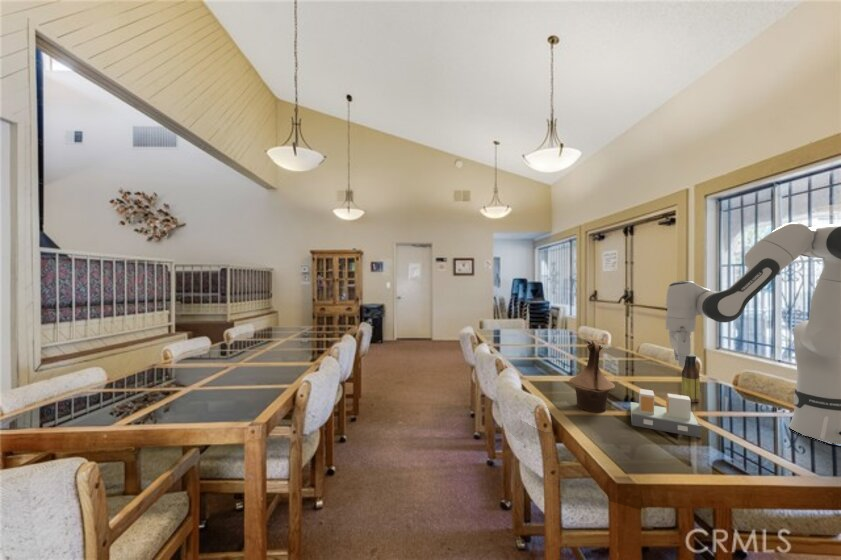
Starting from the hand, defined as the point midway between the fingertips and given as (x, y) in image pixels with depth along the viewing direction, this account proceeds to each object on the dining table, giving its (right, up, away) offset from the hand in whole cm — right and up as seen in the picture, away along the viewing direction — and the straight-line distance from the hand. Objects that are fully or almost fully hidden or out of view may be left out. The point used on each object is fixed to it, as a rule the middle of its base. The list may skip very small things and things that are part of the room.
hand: (679, 362), depth 131 cm
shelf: (-5, -23, +2) cm, 23 cm away
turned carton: (0, -20, 0) cm, 20 cm away
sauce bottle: (+22, -22, +24) cm, 39 cm away
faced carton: (-9, -19, +5) cm, 22 cm away
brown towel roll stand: (-25, -22, +16) cm, 37 cm away
